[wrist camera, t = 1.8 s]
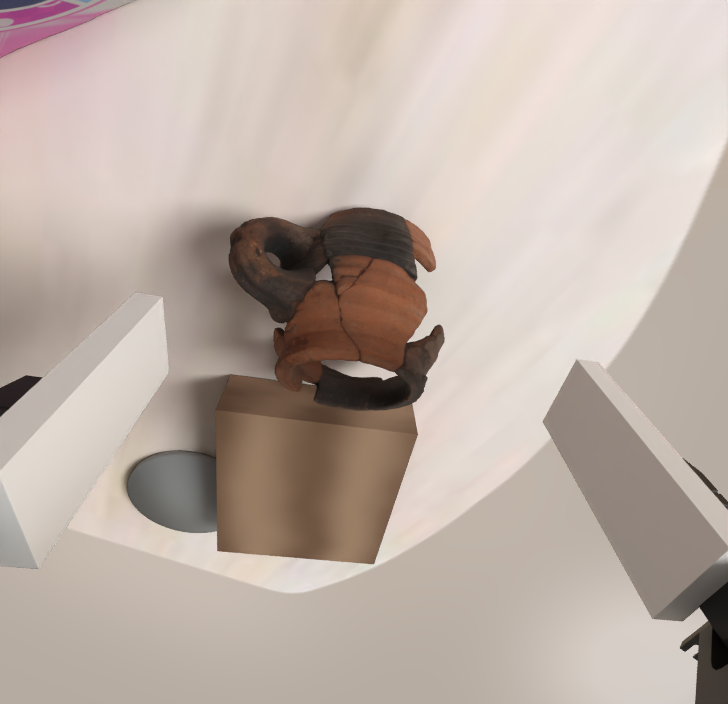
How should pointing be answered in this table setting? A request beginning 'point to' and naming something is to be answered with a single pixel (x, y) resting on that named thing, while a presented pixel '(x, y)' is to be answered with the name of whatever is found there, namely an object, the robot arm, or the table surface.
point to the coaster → (176, 490)
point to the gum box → (45, 18)
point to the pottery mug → (343, 303)
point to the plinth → (306, 472)
